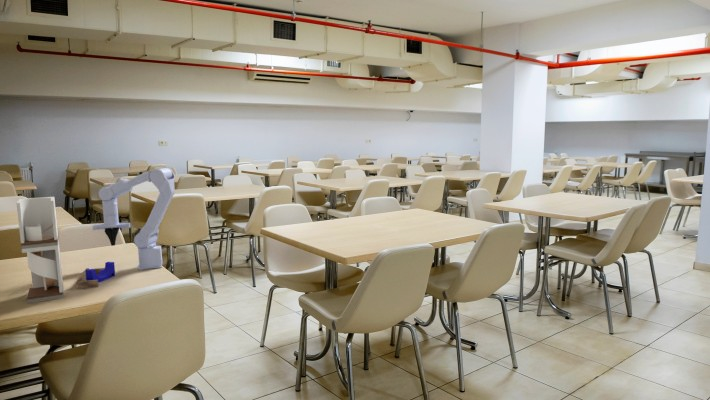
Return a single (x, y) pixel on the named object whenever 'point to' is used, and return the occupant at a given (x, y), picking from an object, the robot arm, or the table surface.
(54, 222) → the display case
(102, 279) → the cable clip
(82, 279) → the frame
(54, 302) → the table surface
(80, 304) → the table surface
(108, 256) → the table surface
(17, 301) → the table surface
